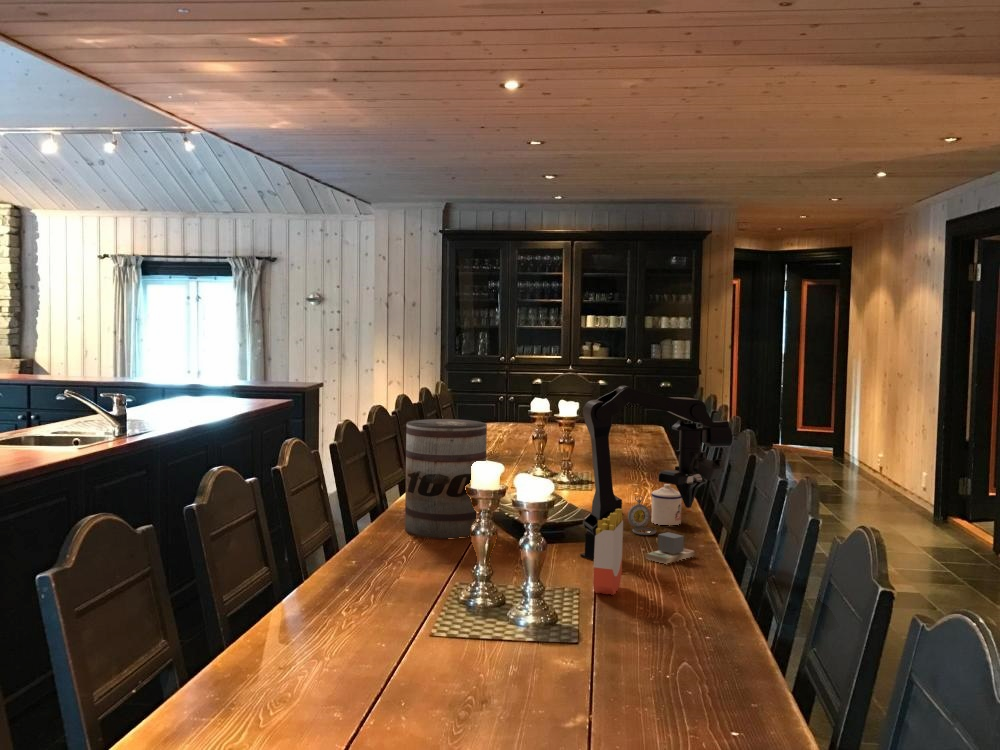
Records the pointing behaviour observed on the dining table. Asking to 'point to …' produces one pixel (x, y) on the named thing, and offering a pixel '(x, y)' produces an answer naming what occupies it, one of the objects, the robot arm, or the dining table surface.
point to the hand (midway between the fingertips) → (688, 507)
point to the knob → (670, 543)
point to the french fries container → (608, 554)
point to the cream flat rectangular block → (669, 556)
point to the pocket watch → (637, 514)
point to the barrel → (441, 476)
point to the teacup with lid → (666, 506)
